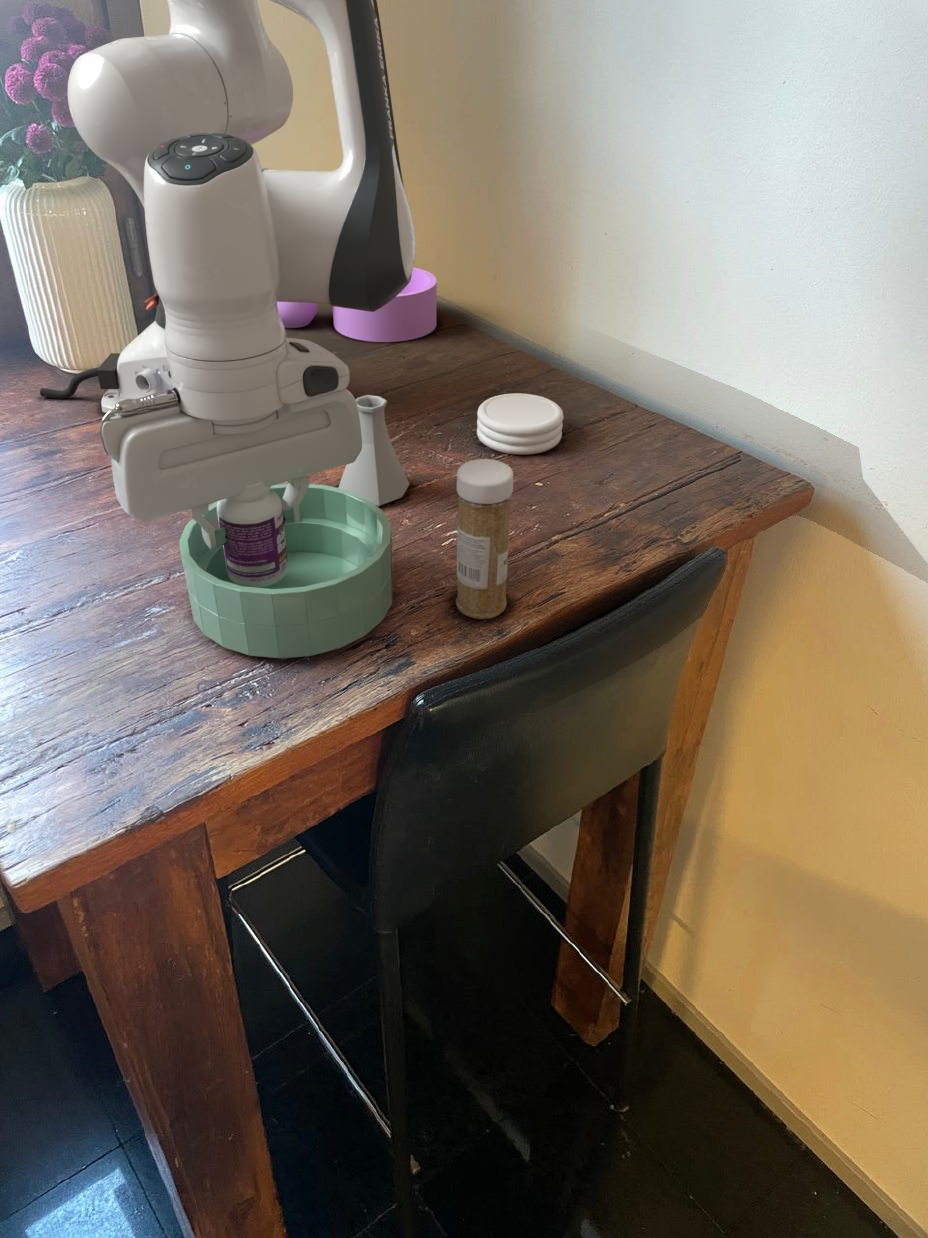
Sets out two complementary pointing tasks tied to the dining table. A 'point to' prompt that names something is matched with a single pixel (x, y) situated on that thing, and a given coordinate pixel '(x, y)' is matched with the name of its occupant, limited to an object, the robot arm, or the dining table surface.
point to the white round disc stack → (519, 423)
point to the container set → (378, 314)
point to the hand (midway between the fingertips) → (253, 532)
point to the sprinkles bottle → (483, 537)
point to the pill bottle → (254, 536)
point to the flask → (375, 458)
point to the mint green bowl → (299, 580)
